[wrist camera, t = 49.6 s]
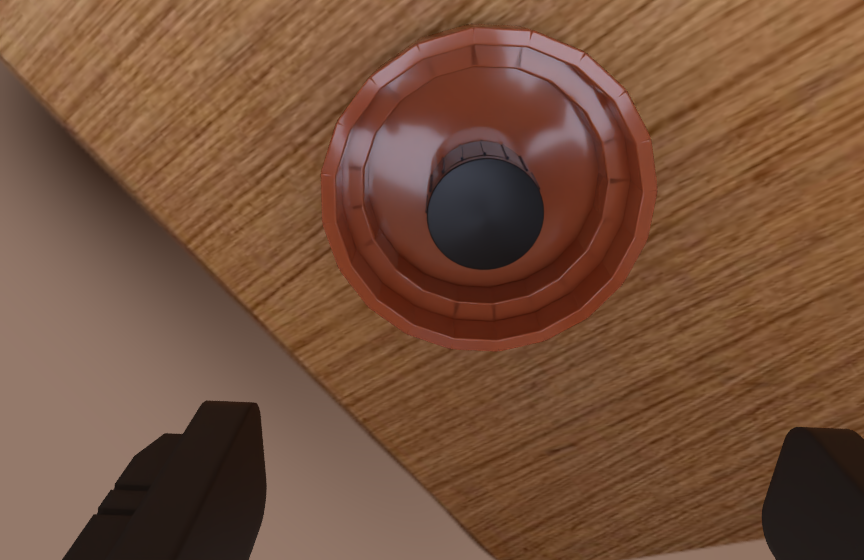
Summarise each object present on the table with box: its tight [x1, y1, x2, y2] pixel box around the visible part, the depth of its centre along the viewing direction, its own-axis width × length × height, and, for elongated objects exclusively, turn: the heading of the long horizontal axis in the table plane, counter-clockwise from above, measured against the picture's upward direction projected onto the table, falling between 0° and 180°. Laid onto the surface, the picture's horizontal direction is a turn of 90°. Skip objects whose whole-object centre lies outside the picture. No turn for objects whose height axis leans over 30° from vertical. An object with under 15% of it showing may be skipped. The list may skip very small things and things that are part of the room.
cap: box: [425, 140, 544, 270], centre depth 22 cm, size 4×4×3 cm
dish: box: [321, 24, 657, 351], centre depth 22 cm, size 11×11×4 cm
